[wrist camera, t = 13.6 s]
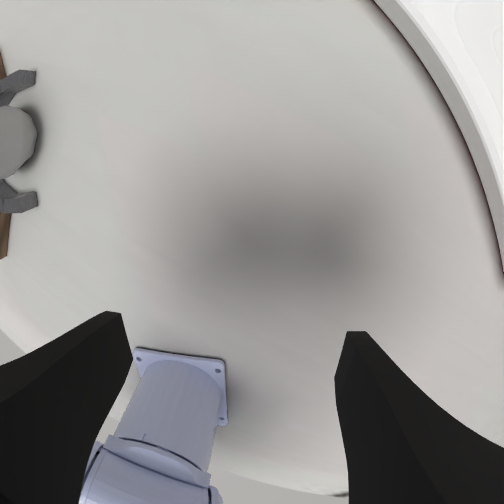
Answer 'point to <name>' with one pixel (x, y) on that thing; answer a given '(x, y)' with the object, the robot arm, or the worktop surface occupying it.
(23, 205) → the silver segmented arch
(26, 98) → the worktop surface
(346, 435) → the robot arm
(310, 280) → the worktop surface
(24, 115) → the salt shaker
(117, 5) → the worktop surface
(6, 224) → the hinge leaves
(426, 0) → the pan
